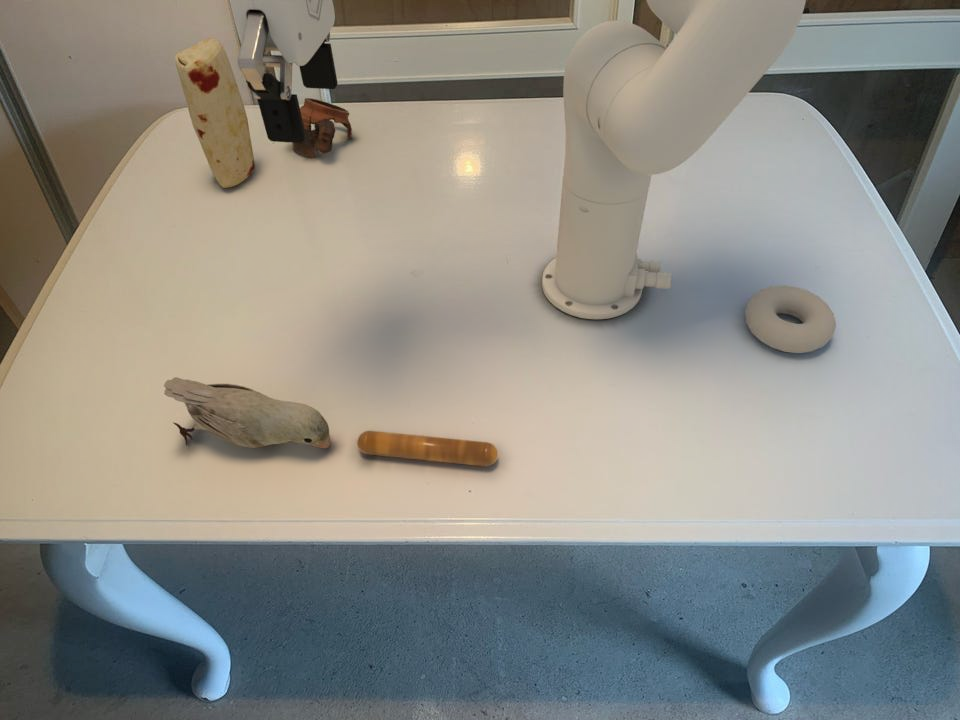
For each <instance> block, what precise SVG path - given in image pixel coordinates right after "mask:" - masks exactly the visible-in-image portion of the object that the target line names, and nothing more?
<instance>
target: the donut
mask: <svg viewBox="0 0 960 720" xmlns="http://www.w3.org/2000/svg"><path fill="white" fill-rule="evenodd" d="M744 314H745V317H744V318H745V323H746V325H747V327H748V328H749V331H750V332H751V334H752V335H754V336H755V337H756V338H757V339H758V341H760V342H761V343H762V344H765V345H767V346H769V347H770V348H772V349H774V350H778V351H780V352H784V353H793V354H804V353H812V352H814V351H817V350H819V349H821V348H823V347H825V346H826V344H828V343H829V342H830V340H832V338H833V337H834V333H835V330H836V327H837V323H836V318H835V313H834V311H833V310H832V309H831V307H830V306H829V305H828V303H827V302H826V301H824V300H823V299H822V298H821V297H820V296H818V295H817V294H815V293H813V292H811V291H810V290H808V289H803V288H800V287H798V286H792V285H776V286H775V285H773V286H768V287H766V288H763V289H761V290H759V291H758V292H756V293H755V294H754V295H753V296H752V297H750V299H749V300H748V302H747V304H746V307H745V310H744ZM777 314H785V315H789V316H793V317H795V318H796V319H799V321H801V322H802V323H792V322H789V321H787V320H784V319H782V318H781V317H779V316H778V315H777Z"/></svg>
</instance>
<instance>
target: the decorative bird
mask: <svg viewBox="0 0 960 720" xmlns="http://www.w3.org/2000/svg"><path fill="white" fill-rule="evenodd" d="M163 388H165V389H164V392H163V395H164V396H166V397H168V398H171V399H173V400H175V401H177V402H181V403H183V404H184V405H185V407H186V410H187V412H188V414H189V416H190V418H192V421H194V423H195V424H194V425H193V426H192V427H191V428H186V427H182V425H180V424H179V423H178V422H177V423H176V422H173V424H174V425H175V426H176V427H177V428H178V430H179V434H180V435H181V436H182V437H183V439H184V441H185V446H186V447H187V445H188V442H189V440H188V438H190V439H191V441H193V440H194V439H193V436H192V434H190V433H191V432H192V433H193V432H194V431H195V430H204V431H209V432H210V433H212V434H213V435H215V436H217V437H218V438H220V439H222V440H224V441H227V442H229V443H231V444H234V445H237V446H240V447H244V448H254V449H255V448H260V447H261V448H262V447H266V446H272V445H280V444H286V443H289V442H295V443H298V444H302V445H309V446H313V447H317V448H319V449H328V448H330V445H331V435H330V427H329V424H328V422H327V420H326V419H325V417H324V416H323V415H322V413H320V411H318V410H317V409H316V408H314V407H313V406H311V405H309V404H305V403H302V402H295V401H287V400H281V399H275V398H272V397H270V396H268V395H265V394H264V393H262V392H260V391H257V390H255V389H252V388H250V387H247V386H243V385H239V384H232V383H210V384H208V383H207V384H205V383H202V382H200V381H197V380H191V379H183V378H181V377H177V376H176V377H172V378H171V379H167V380H166V381H165V382H164V384H163Z"/></svg>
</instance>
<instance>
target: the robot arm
mask: <svg viewBox="0 0 960 720" xmlns="http://www.w3.org/2000/svg"><path fill="white" fill-rule="evenodd" d="M228 1H229V5H230V9H231V13H232V18H233V21H234V25H235V28H236V32H237V36H238V39H239V43H240V47H239V52H238V55H237V66H238V69H239V70H240V72H241V73H242V76H244V79H245V83H247V87H248V89H249V90H250V91H251V92H252V96H253V98H254V99H255V100H257V103H258V107H259V111H260V114H261V118H262V122H263V125H264V129H265V133H266V136H267V137H266V138H267V139H268V140H269V141H271V142H276V143H303V142H304V140H305V139H306V134H305V129H304V125H303V120H302V116H301V111H300V108H301V106H300V103H299V98H298V95H297V94H294V93H292V90H293V89H292V88H293V64H295V65H296V66H298V68H299V71H300V77H301V81H302V85H303V86H304V87H305V88H306V89H319V90H335V89H336V88H337V87H338V83H339V82H338V76H337V71H336V66H335V60H334V54H333V49H332V43H331V42H330V41H331V31H332V29H333V27H334V25H335V21H336V13H335V7H334V1H333V0H228ZM645 1H646V3H647V6H648V7H649V9H650V10H651V11H652V13H653V14H654V16H656V17H657V18H658V20H660V21H661V22H662V24H664V25H665V26H666V27H667V28H668V29H669V30H671V32H672V33H674V34H675V36H674V37H673V39H672V40H671V42H670V43H669V45H668V46H665V45H664V44H663V43H662V42H661V41H660V40H659V39H657V38H656V37H655V36H654V35H652V34H651V33H650V32H648V31H647V30H646V29H645V28H643V27H641V26H639V25H637V24H636V23H635V24H634V23H632V22H629V21H626V20H617V19H616V20H607V21H604V22H600V23H598V24H596V25H594V26H593V27H591V28H590V29H588V30H586V32H584V33H583V34H582V35H581V36H580V37H579V38H578V40H577V41H576V42H575V44H574V46H573V47H572V49H571V51H570V53H569V55H568V58H567V60H566V63H565V64H566V65H565V68H564V72H563V84H562V95H563V97H562V98H563V112H564V130H565V131H564V132H565V134H564V135H565V137H564V138H565V139H564V140H565V142H564V143H565V144H564V145H565V146H564V161H563V162H564V164H563V176H562V182H561V183H562V184H561V195H560V207H559V208H560V209H559V219H558V222H559V223H558V232H557V242H556V244H557V245H556V256H555V258H553V259H552V260H551V261H550V262H549V263H548V264H546V266H545V268H544V270H543V273H542V279H541V286H542V291H543V294H544V296H545V297H546V299H547V300H548V301H549V303H551V304H552V305H553V307H555V308H557V309H558V310H560V311H561V312H563V313H566V314H567V315H569V316H573V317H576V318H579V319H585V320H605V319H613V318H616V317H619V316H622V315H624V314H626V313H628V312H629V311H631V310H632V309H633V308H635V306H636V305H637V304H638V303H639V302H640V299H641V297H642V293H643V290H644V289H645V287H649V288H655V289H665V290H670V289H671V287H672V278H673V277H672V275H673V273H672V272H660V271H661V262H660V261H653V260H650V261H649V260H648V261H647V260H646V261H645V260H642V259H641V258H638V248H639V242H640V236H641V232H642V227H643V220H644V216H645V211H646V205H647V200H648V194H649V191H650V186H651V180H652V176H653V175H661V174H663V173H666V172H669V171H672V170H674V169H675V168H677V167H679V166H680V165H682V164H683V163H685V162H686V161H687V160H689V159H690V158H691V157H692V156H693V155H695V153H697V151H699V150H700V149H701V148H702V147H703V145H705V144H706V142H707V141H709V139H710V138H711V137H712V136H713V135H714V133H715V132H716V131H717V130H718V128H719V127H720V126H721V125H722V124H723V123H724V122H725V120H727V118H728V117H729V116H730V115H731V114H732V113H733V111H734V110H735V109H736V108H737V107H738V106H739V104H740V103H741V102H742V101H743V100H744V99H745V97H746V96H747V95H748V94H749V93H750V92H751V90H752V89H753V88H754V87H755V86H756V84H757V83H758V82H759V81H760V80H761V79H762V77H763V76H764V75H765V74H766V73H767V71H769V70H770V69H771V67H772V66H773V64H774V63H775V62H776V61H777V59H779V57H780V56H781V55H782V53H783V52H784V51H785V49H786V48H787V47H788V45H789V44H790V41H791V40H792V38H793V36H794V35H795V32H796V30H797V28H798V27H799V24H800V22H801V19H802V16H803V13H804V10H805V6H806V1H807V0H645ZM329 42H330V43H329ZM269 52H279V53H280V54H281V55H280V54H277V55H276V54H268V53H269ZM267 68H279V80H278V78H277V77H275V76H274V75H273V74H272V73H268V72H267Z"/></svg>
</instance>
